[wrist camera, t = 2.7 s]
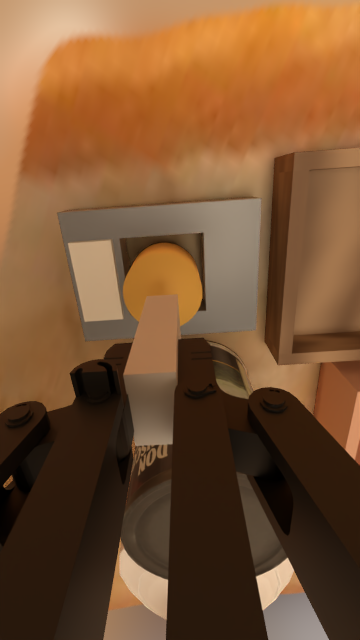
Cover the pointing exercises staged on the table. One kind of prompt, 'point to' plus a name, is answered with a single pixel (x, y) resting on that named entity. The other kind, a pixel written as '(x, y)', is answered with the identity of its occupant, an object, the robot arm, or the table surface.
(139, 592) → the candle holder
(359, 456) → the terracotta square planter
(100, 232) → the base
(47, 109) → the table surface
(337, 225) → the dark wooden tray
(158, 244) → the button
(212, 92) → the table surface
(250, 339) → the table surface
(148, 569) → the coffee can
